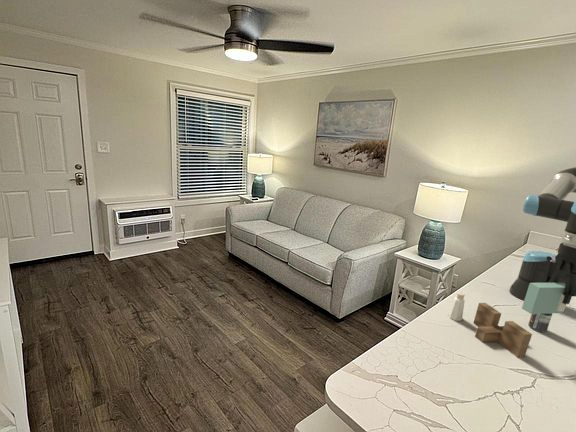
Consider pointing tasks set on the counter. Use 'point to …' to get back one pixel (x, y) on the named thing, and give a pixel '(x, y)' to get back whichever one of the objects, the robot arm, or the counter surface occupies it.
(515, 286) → the robot arm
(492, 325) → the walnut joint base
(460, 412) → the counter surface
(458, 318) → the pepper shaker
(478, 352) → the counter surface
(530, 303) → the teal block
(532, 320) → the pill bottle
